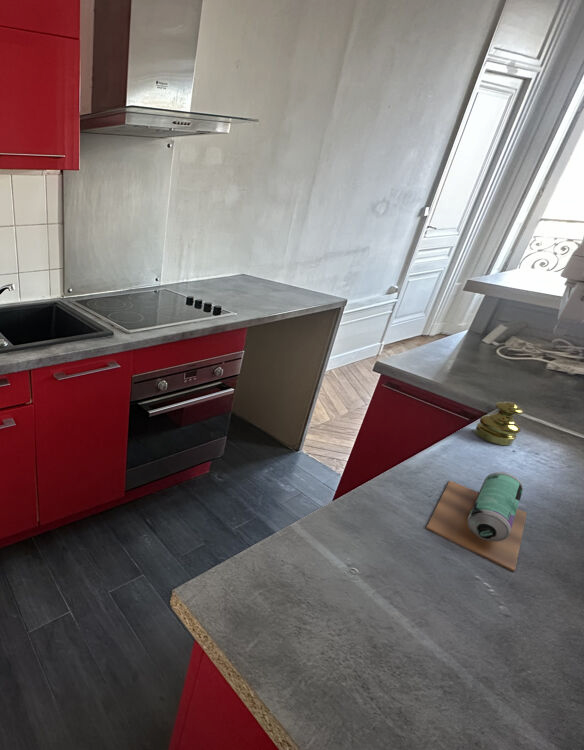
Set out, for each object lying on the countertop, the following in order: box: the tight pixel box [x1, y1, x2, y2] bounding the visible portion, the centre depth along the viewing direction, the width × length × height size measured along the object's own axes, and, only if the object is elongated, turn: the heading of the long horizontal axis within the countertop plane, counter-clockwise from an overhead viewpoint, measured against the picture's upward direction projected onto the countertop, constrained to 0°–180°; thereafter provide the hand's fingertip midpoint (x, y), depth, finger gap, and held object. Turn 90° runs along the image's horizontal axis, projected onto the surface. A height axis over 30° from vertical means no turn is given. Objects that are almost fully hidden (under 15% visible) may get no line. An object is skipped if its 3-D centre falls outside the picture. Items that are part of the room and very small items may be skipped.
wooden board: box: [425, 480, 528, 573], centre depth 78 cm, size 20×12×1 cm, turn 131°
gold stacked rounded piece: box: [473, 401, 525, 446], centre depth 101 cm, size 7×7×10 cm
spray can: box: [467, 472, 524, 542], centre depth 77 cm, size 6×6×20 cm
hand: (557, 334), depth 92 cm, fingers closed
